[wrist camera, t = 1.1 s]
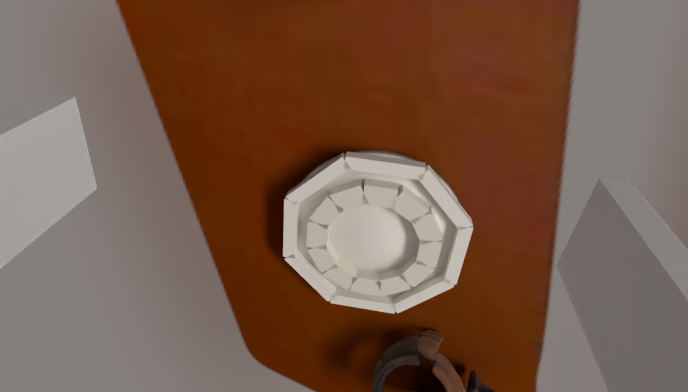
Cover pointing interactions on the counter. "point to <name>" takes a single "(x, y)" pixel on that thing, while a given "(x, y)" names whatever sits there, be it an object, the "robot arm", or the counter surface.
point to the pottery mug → (427, 349)
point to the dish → (375, 231)
